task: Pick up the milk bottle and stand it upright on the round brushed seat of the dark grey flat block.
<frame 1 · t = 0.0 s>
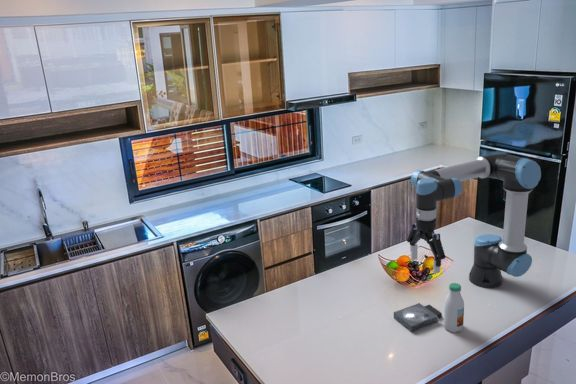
hand: (424, 266, 195), 28 cm above the counter, fingers open, 13 cm apart
milk bottle: (453, 327, 201), on the counter
dark grey flat block: (415, 320, 207), on the counter
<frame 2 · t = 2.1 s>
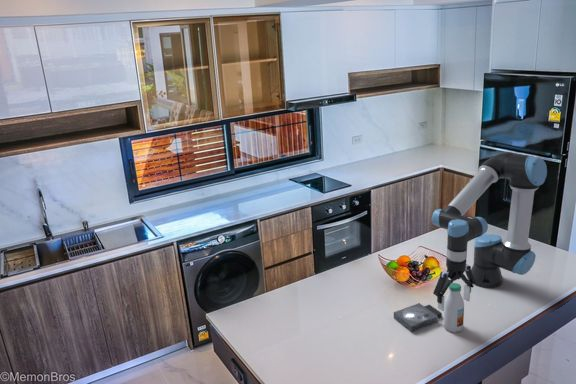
hand: (453, 304, 197), 11 cm above the counter, fingers open, 13 cm apart
nothing on the counter moved.
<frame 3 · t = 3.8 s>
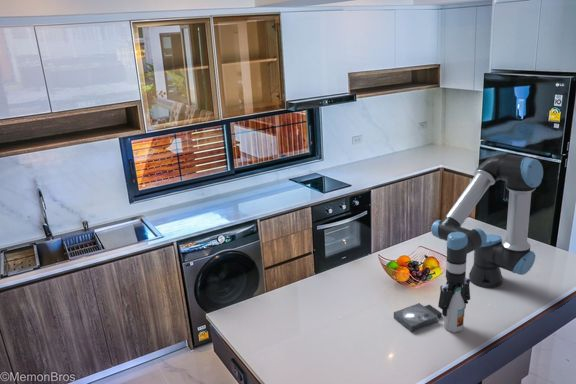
hand: (453, 318, 199), 4 cm above the counter, fingers closed on milk bottle, 8 cm apart
milk bottle: (453, 327, 201), on the counter, touching gripper
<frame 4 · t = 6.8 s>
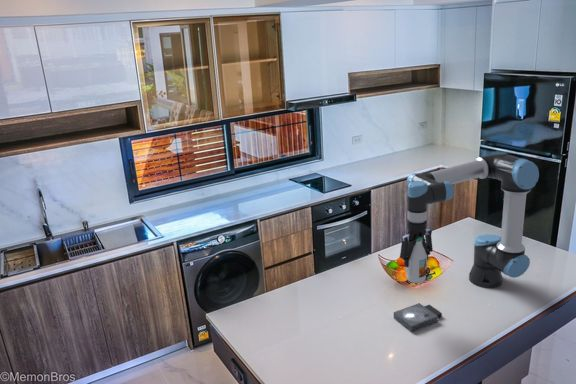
hand: (416, 270, 199), 24 cm above the counter, fingers closed on milk bottle, 8 cm apart
milk bottle: (416, 279, 201), point 20 cm above the counter, touching gripper
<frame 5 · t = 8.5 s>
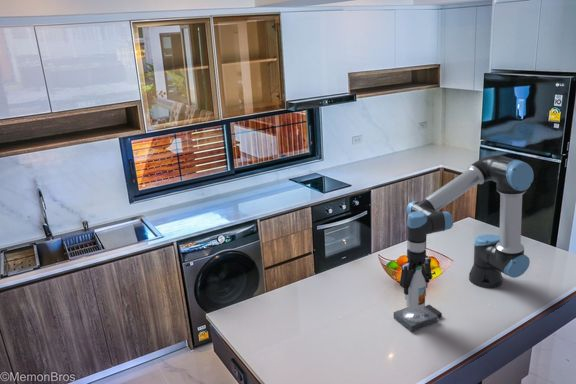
hand: (415, 297, 204), 11 cm above the counter, fingers closed on milk bottle, 8 cm apart
milk bottle: (415, 306, 205), point 7 cm above the counter, touching gripper
when the fingers open (8 cm above the counter, at t = 9.9 s): milk bottle stays where it is, resting on dark grey flat block.
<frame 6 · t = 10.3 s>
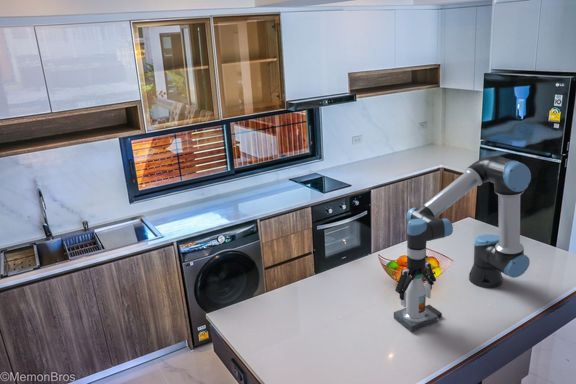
hand: (415, 301, 204), 9 cm above the counter, fingers open, 12 cm apart
milk bottle: (415, 314, 206), point 3 cm above the counter, touching dark grey flat block
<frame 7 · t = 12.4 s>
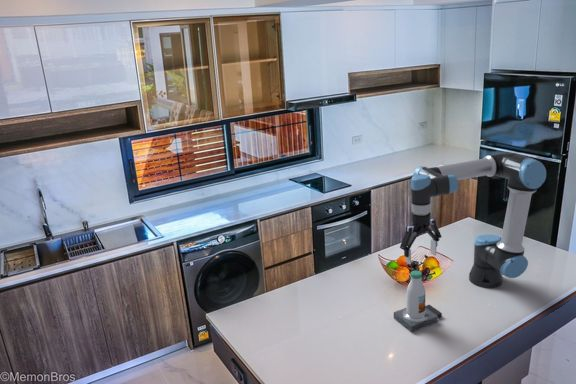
hand: (421, 258, 203), 27 cm above the counter, fingers open, 13 cm apart
nothing on the counter moved.
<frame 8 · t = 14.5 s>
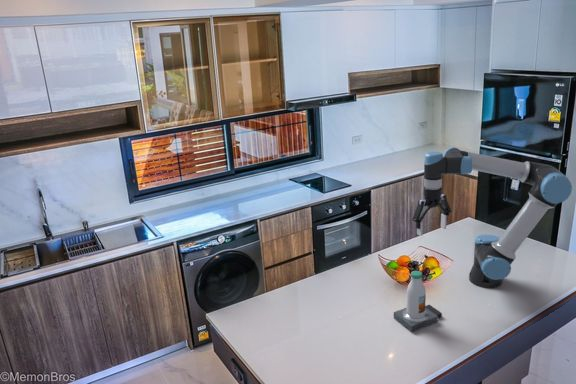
hand: (431, 231, 217), 32 cm above the counter, fingers open, 13 cm apart
nothing on the counter moved.
at the end: milk bottle inside the target area on the dark grey flat block (0.2 cm from its centre), point 2.9 cm above the dark grey flat block's base; milk bottle tilted 0°; the gripper is holding nothing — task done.
